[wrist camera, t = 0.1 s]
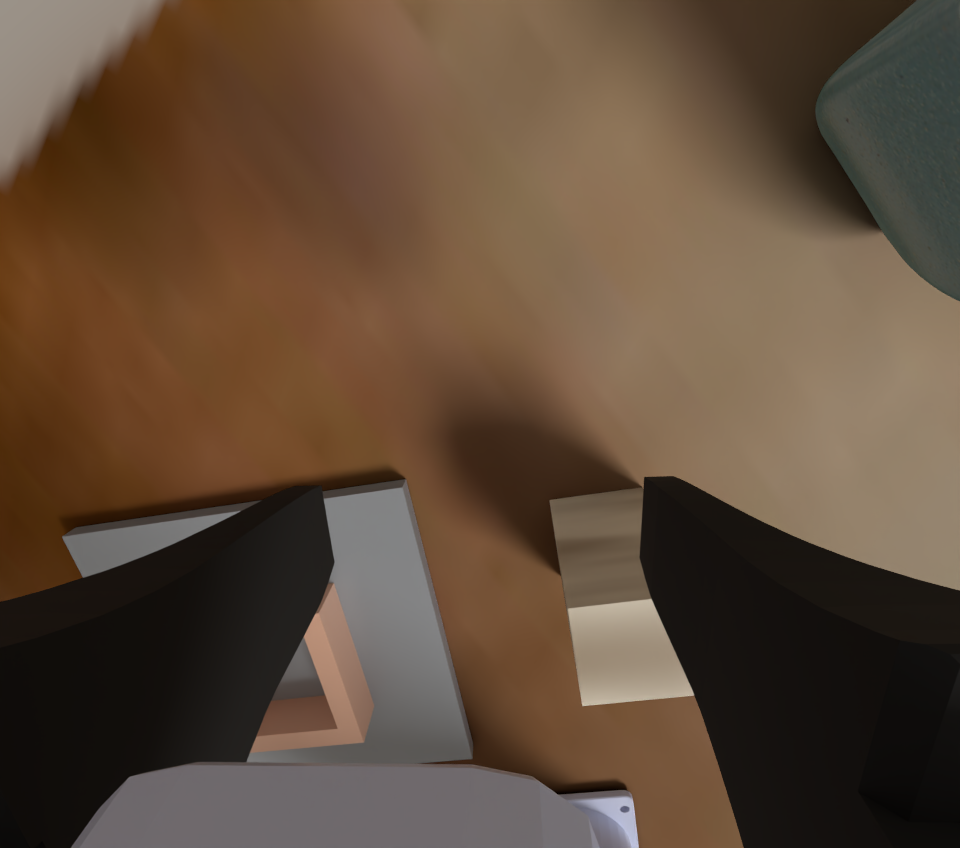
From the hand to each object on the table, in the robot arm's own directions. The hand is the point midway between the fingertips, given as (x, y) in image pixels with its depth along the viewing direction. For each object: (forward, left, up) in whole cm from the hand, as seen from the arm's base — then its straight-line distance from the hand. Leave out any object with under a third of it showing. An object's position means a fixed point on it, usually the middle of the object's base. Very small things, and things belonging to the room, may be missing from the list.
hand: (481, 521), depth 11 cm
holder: (-11, +12, -10) cm, 19 cm away
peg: (-7, -4, -10) cm, 13 cm away
